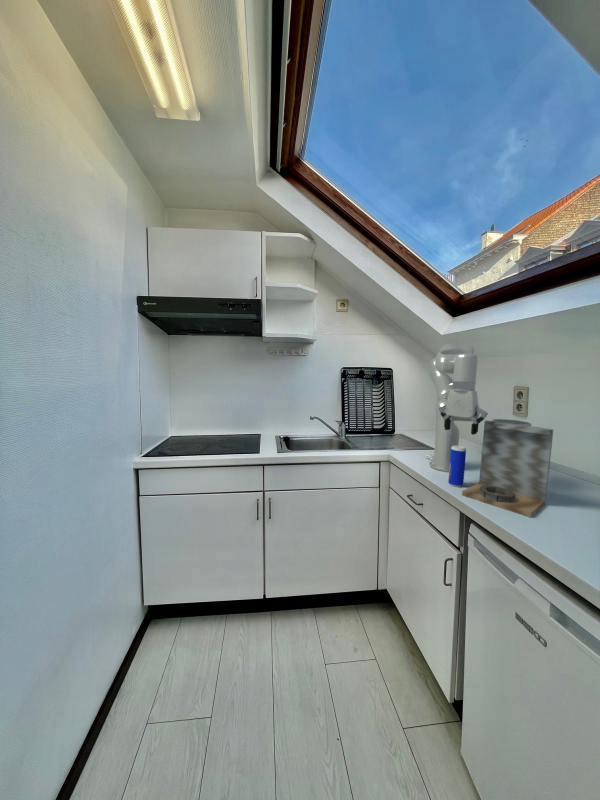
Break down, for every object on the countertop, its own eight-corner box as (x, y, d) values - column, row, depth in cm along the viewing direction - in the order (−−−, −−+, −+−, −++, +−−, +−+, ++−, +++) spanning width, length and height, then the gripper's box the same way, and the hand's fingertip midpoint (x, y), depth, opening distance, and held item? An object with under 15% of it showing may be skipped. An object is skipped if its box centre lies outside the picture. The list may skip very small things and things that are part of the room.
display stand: (461, 495, 107) (467, 424, 104) (480, 485, 117) (486, 420, 114) (530, 517, 91) (539, 434, 89) (545, 504, 101) (553, 429, 99)
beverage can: (450, 481, 120) (452, 444, 119) (464, 484, 117) (467, 446, 116) (446, 484, 116) (449, 446, 115) (461, 488, 113) (464, 449, 112)
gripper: (436, 385, 118) (433, 429, 119) (485, 388, 104) (480, 437, 106) (445, 385, 122) (442, 427, 124) (493, 388, 109) (489, 435, 110)
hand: (460, 431), depth 115 cm, fingers open, 9 cm apart
